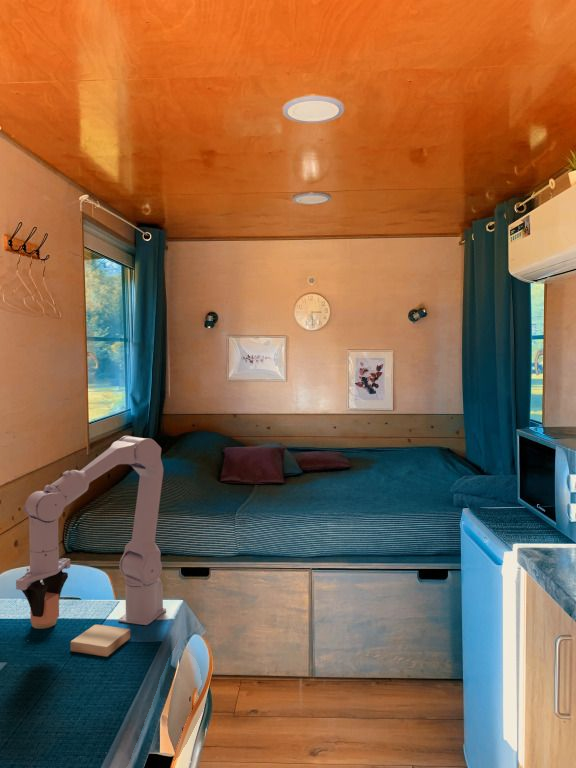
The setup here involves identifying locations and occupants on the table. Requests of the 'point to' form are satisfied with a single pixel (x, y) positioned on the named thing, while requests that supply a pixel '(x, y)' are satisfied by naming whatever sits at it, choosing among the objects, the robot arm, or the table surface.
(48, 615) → the terracotta block
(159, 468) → the robot arm
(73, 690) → the table surface
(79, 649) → the birch block
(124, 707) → the table surface
